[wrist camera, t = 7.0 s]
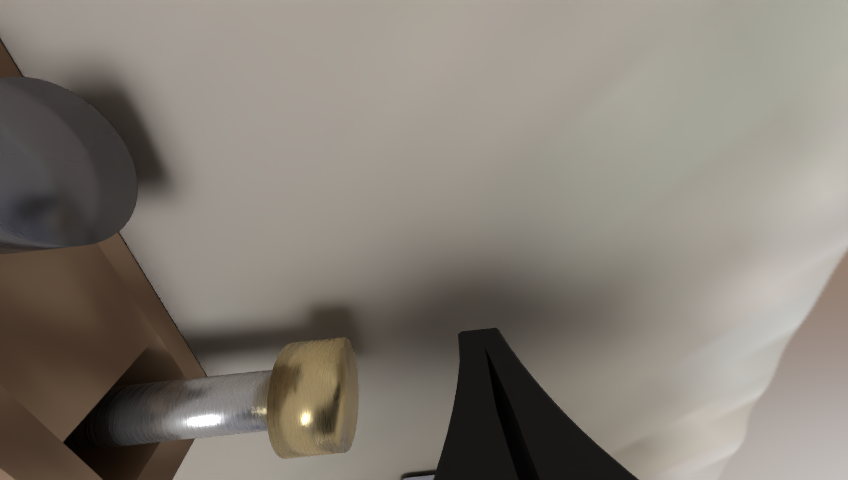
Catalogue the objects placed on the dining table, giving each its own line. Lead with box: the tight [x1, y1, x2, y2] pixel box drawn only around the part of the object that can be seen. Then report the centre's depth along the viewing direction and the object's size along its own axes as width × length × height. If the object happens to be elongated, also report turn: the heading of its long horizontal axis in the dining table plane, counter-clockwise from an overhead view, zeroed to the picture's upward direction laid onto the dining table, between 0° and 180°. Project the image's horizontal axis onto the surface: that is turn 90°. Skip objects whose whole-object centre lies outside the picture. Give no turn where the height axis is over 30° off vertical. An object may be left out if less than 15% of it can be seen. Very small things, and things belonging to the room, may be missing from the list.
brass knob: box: [63, 337, 358, 459], centre depth 11 cm, size 3×9×3 cm, turn 95°
